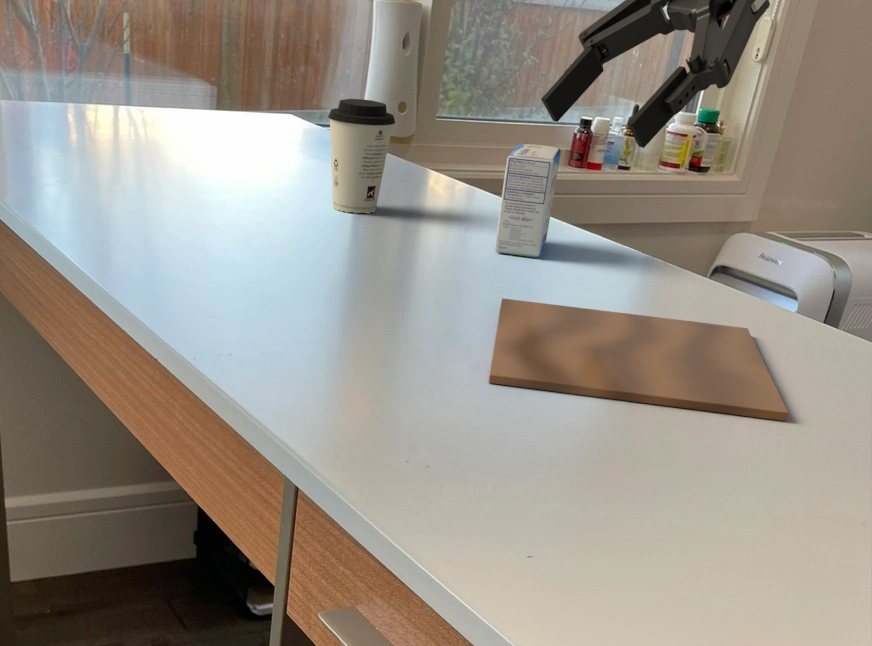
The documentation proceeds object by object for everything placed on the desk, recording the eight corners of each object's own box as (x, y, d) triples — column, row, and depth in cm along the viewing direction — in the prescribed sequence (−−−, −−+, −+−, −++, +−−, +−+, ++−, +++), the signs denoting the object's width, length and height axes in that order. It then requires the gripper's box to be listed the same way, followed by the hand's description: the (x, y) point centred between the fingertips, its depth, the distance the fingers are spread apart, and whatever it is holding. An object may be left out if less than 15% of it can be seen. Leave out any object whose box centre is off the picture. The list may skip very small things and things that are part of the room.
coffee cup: (391, 218, 117) (401, 110, 111) (324, 214, 116) (332, 105, 110) (382, 203, 122) (392, 100, 116) (319, 199, 121) (325, 95, 116)
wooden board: (745, 335, 91) (747, 327, 90) (786, 421, 74) (788, 412, 74) (500, 305, 92) (501, 298, 92) (488, 383, 76) (489, 374, 76)
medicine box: (538, 259, 107) (556, 159, 101) (492, 253, 107) (507, 153, 102) (546, 242, 113) (562, 147, 108) (502, 236, 114) (517, 141, 108)
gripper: (869, -10, 97) (691, 180, 100) (680, -32, 115) (533, 130, 118) (847, -90, 92) (660, 113, 95) (652, -101, 109) (500, 71, 112)
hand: (590, 122), depth 106 cm, fingers open, 13 cm apart
